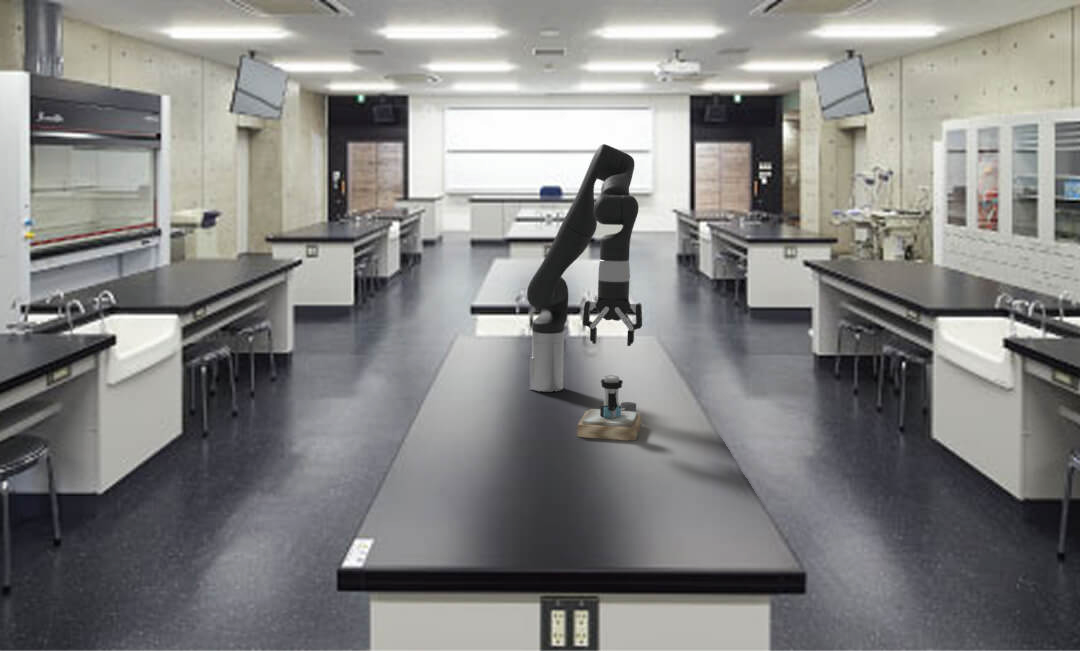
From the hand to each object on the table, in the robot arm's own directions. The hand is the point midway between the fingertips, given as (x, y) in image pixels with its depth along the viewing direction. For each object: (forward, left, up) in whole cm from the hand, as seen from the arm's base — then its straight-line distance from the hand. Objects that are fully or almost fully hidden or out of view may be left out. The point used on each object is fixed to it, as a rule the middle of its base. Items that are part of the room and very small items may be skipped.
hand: (611, 344), depth 235 cm
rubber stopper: (+3, +13, -22) cm, 26 cm away
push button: (+1, 0, -18) cm, 18 cm away
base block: (0, 0, -22) cm, 22 cm away
